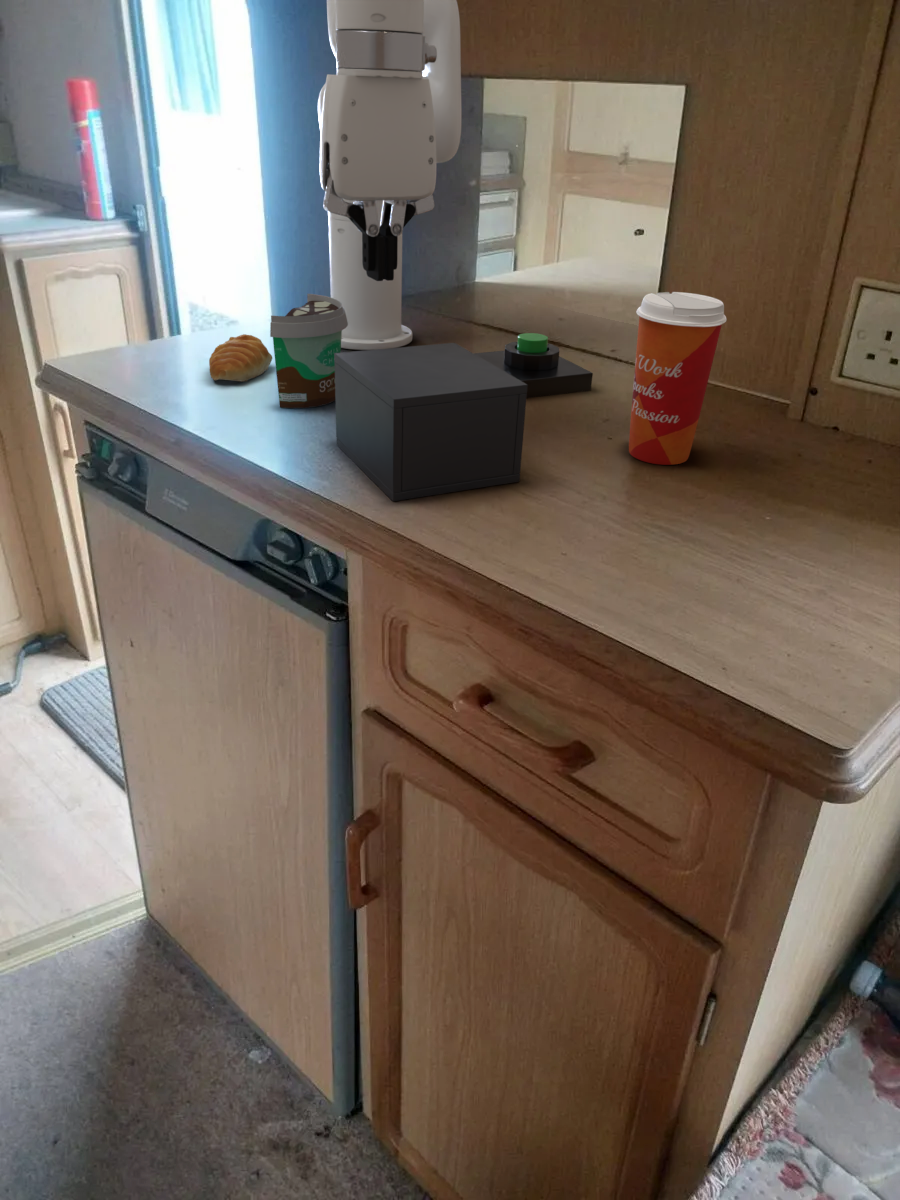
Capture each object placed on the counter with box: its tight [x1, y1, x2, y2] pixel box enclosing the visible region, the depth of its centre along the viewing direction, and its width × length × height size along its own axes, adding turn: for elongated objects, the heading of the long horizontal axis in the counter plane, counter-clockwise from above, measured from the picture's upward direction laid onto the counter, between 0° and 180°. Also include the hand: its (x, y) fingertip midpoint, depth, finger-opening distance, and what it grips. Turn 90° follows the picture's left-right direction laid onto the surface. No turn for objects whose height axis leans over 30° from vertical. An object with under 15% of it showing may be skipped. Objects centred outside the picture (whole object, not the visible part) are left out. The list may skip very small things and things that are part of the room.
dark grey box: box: [334, 342, 528, 502], centre depth 85 cm, size 15×13×9 cm
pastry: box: [208, 333, 273, 383], centre depth 108 cm, size 9×7×4 cm
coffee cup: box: [628, 291, 728, 466], centre depth 87 cm, size 8×8×15 cm
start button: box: [516, 332, 549, 353], centre depth 109 cm, size 4×4×2 cm
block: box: [472, 341, 594, 399], centre depth 110 cm, size 12×10×4 cm
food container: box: [269, 293, 348, 409], centre depth 100 cm, size 12×6×10 cm, turn 168°
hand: (379, 277), depth 88 cm, fingers closed
